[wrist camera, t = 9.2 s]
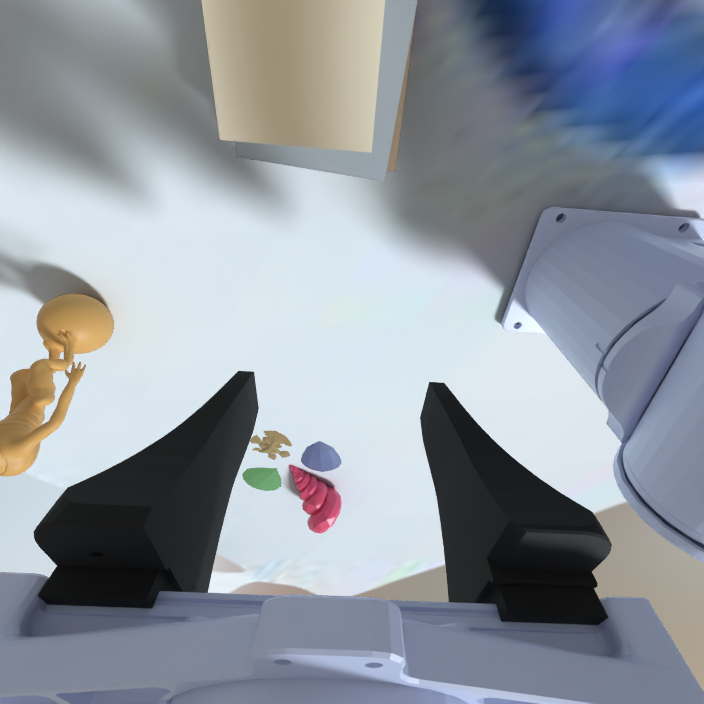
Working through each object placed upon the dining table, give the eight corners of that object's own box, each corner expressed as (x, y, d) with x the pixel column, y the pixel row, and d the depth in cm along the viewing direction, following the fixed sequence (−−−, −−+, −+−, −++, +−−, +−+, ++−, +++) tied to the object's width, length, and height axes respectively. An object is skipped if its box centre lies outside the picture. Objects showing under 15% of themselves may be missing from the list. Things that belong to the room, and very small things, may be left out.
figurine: (116, 261, 22) (-85, 379, 12) (180, 333, 25) (60, 473, 15) (33, 308, 24) (-192, 440, 14) (101, 369, 27) (-47, 512, 18)
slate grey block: (412, -5, 13) (423, -33, 10) (381, 171, 16) (384, 181, 14) (253, -37, 12) (225, -74, 10) (256, 149, 16) (236, 156, 13)
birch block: (382, -9, 11) (392, -84, 7) (370, 140, 13) (371, 152, 9) (256, -20, 11) (187, -103, 7) (266, 131, 13) (219, 139, 9)
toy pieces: (377, 459, 33) (378, 501, 30) (319, 510, 39) (314, 550, 35) (266, 408, 30) (252, 448, 26) (220, 471, 35) (203, 512, 32)
